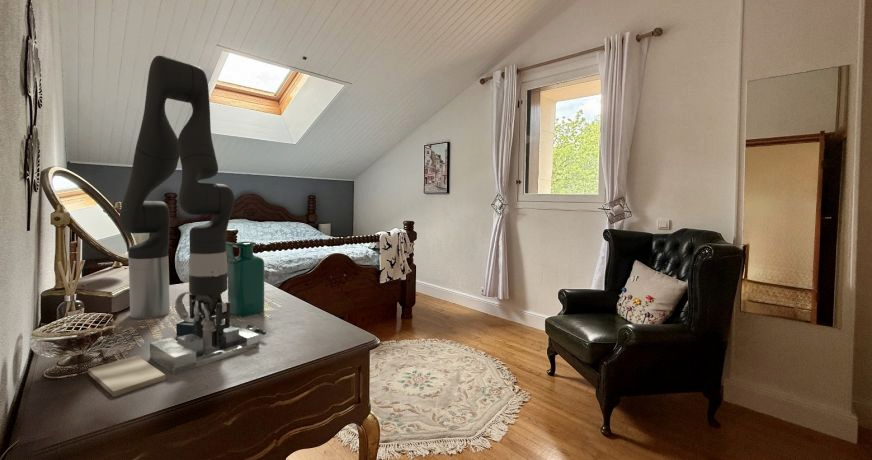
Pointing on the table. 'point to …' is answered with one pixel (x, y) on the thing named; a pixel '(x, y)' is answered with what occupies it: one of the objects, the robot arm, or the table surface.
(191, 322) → the watch
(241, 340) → the vise
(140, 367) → the board
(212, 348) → the rook chess piece
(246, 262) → the pitcher
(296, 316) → the table surface
